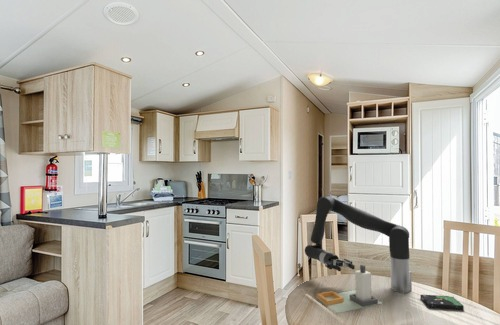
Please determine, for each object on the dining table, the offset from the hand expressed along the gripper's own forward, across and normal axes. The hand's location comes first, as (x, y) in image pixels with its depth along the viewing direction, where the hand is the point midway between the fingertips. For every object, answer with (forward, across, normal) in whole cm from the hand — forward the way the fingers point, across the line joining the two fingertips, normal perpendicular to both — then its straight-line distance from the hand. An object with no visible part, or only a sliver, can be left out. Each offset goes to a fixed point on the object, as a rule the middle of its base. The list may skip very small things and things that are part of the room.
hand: (347, 268), depth 154 cm
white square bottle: (+12, 0, +12) cm, 17 cm away
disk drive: (+26, +33, +13) cm, 44 cm away
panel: (+8, -6, +13) cm, 16 cm away
